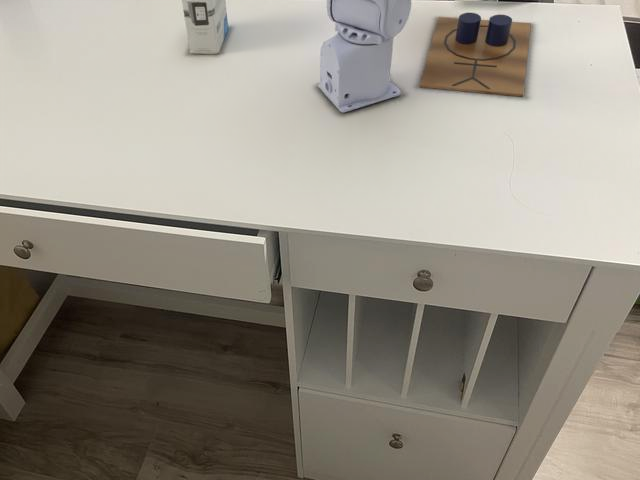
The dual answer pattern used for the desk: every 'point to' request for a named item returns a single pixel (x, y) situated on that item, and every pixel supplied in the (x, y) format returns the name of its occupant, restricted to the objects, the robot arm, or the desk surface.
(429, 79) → the sheet
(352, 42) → the robot arm
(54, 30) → the desk surface
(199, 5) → the ink box
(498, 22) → the dot
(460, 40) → the dot
